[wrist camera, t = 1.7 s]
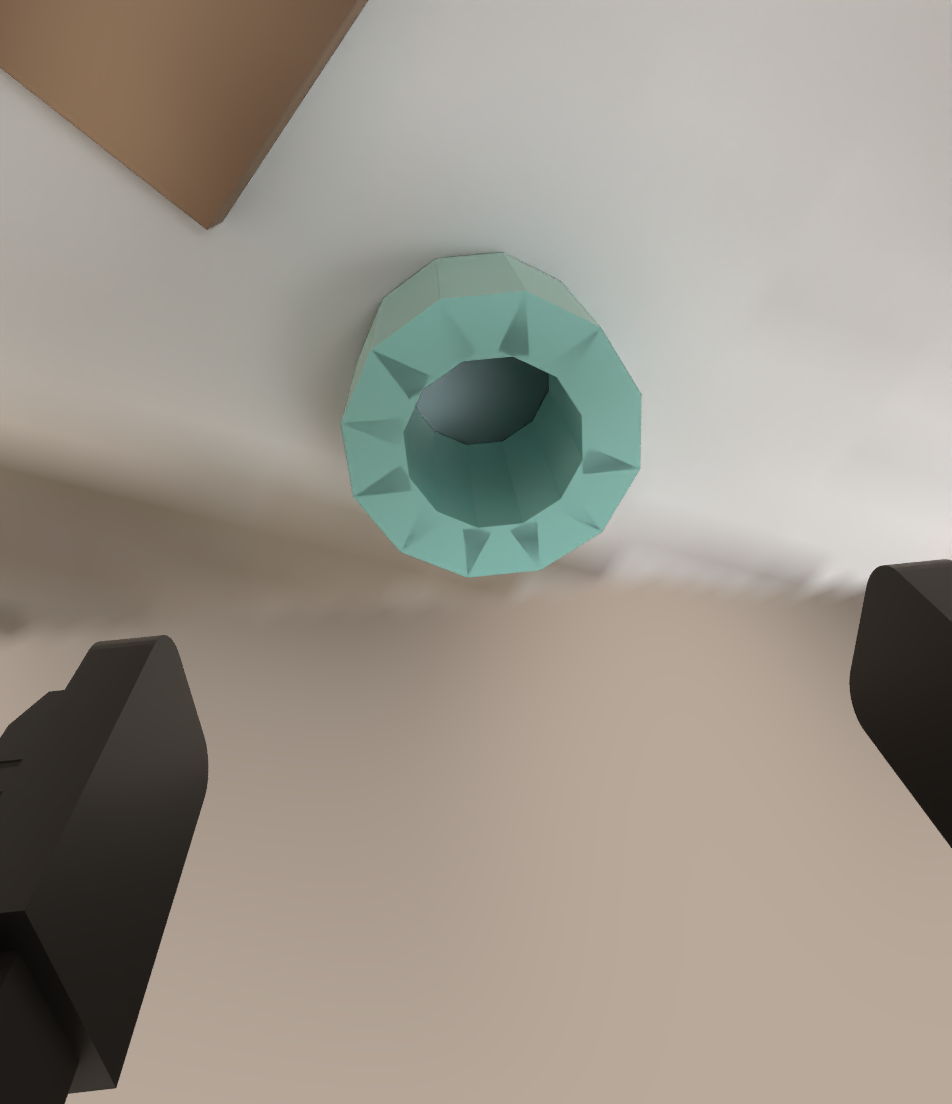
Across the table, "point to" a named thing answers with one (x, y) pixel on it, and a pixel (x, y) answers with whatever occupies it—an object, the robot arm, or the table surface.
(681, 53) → the table surface
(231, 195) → the carrier plate
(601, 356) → the teal short hollow cylinder
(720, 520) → the table surface
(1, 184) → the table surface
